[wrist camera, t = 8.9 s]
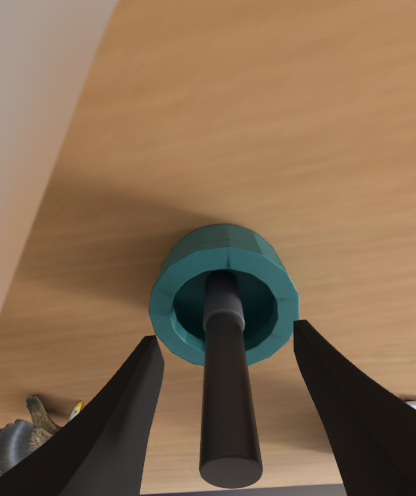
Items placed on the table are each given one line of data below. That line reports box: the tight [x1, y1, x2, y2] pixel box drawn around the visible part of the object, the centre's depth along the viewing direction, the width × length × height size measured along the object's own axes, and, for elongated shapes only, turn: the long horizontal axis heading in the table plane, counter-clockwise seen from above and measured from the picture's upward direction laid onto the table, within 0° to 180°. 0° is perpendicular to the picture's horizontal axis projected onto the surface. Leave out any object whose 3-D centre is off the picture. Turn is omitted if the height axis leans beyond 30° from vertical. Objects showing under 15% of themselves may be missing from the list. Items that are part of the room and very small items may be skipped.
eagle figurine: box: [0, 396, 83, 475], centre depth 22 cm, size 8×7×9 cm
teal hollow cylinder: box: [148, 224, 299, 366], centre depth 16 cm, size 9×9×4 cm
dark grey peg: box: [199, 270, 263, 489], centre depth 12 cm, size 2×2×11 cm
